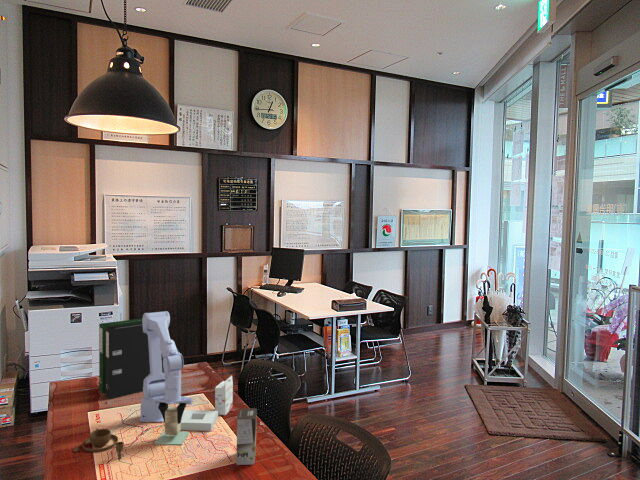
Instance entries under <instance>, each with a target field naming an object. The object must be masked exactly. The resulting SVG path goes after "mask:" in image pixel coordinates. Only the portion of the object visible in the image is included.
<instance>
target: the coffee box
mask: <svg viewBox="0 0 640 480" xmlns="http://www.w3.org/2000/svg"><path fill="white" fill-rule="evenodd" d="M257 412H258V408H254V407H252V408H251V407H250V408H249V407H248V408H239V410H238V414H237V417H236V422H237V423H236V463H235V465H237V466H242V465H244V466H245V465H247V466H248V465H249V466H251V465H255V460H256V455H257V454H256V453H257V421H258V420H257V415H258V413H257Z"/></svg>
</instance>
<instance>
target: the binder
mask: <svg viewBox="0 0 640 480" xmlns="http://www.w3.org/2000/svg"><path fill="white" fill-rule="evenodd" d="M98 331H99V335H98V336H99V338H98V339H99V340H98V343H99V344H98V345H99V346H98V351H99V352H98V353H99V354H98V357H99V359H98V360H99V362H98V363H99V364H98V365H99V366H98V372H99V375H98V378H99V379H98V382H99V383H98V385H99V387H98V390H99V392H100V393H101V394H103V395H104V394H105V397H106V399H108V401H109V400H112V399H118V398H122V397H125V396H131V395H135V394H139V393H143V381H144V379H145V378H146V377H147V376H148V375H149V374H150V361H149V344H148V335H147V333H144V332H143V324H142V318H136V319H128V320H120V321H119V320H117V321H110V322H103V323H101V322H100V323H99V329H98ZM160 344H161V341H160ZM161 360H162V373H164V368H163V356H162V353H161ZM161 380H163V379H161ZM156 381H160V380H156ZM151 382H154V381H151Z"/></svg>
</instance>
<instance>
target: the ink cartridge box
mask: <svg viewBox="0 0 640 480" xmlns="http://www.w3.org/2000/svg"><path fill="white" fill-rule="evenodd" d="M233 388H234V382H233V375H230V376H229V377H228V378H227V379H226V380H222V381H221V382H220V383H218V385H216V386H215V388H214V403H215V404H214V405H215V406H214V411H218V416H227V414H228V413H229V412H230V411H231V410H232V409H233V402H234V397H233V393H234V392H233V391H234V389H233Z"/></svg>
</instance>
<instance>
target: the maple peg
mask: <svg viewBox="0 0 640 480" xmlns="http://www.w3.org/2000/svg"><path fill="white" fill-rule="evenodd" d="M164 431H165V435H175V436H177V435H178V433H179V432H180V431H182V430H181V422H180V424H178V410H177V406H168V409H167V410H166V411H165V423H164Z"/></svg>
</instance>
